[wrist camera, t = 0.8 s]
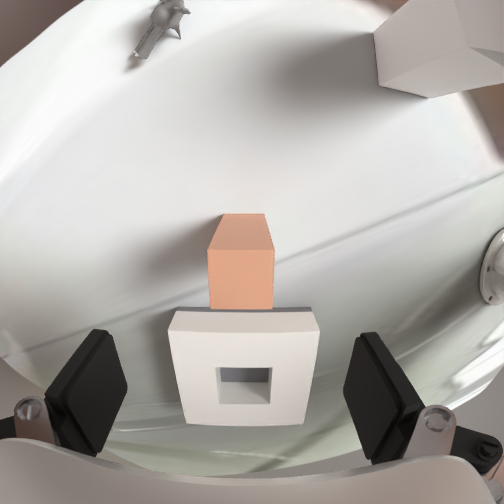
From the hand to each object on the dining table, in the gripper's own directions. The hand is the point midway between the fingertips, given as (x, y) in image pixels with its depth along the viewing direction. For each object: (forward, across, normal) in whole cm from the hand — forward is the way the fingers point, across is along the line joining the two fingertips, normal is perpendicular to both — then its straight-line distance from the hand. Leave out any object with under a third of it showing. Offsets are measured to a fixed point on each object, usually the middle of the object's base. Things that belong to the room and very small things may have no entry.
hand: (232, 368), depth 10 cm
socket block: (+20, 0, +16) cm, 26 cm away
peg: (+20, 0, 0) cm, 20 cm away
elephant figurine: (+20, +7, -22) cm, 31 cm away
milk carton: (+20, -18, -20) cm, 34 cm away
